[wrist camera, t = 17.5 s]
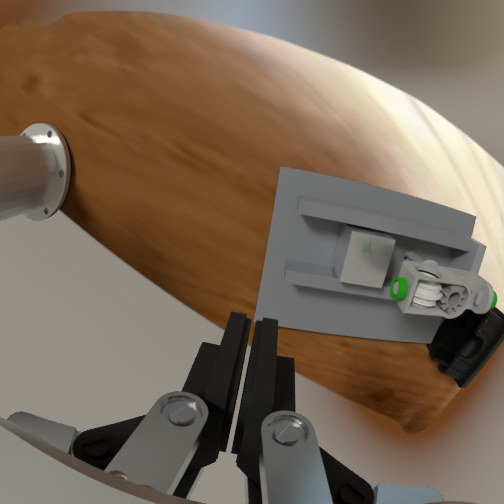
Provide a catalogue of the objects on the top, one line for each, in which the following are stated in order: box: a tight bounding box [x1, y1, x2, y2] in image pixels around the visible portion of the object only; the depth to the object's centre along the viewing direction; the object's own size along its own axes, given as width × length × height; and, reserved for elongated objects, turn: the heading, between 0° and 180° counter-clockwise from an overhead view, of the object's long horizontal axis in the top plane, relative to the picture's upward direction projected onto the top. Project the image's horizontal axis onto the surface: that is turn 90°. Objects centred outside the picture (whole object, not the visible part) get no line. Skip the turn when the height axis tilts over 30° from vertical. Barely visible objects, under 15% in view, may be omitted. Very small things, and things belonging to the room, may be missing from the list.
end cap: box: [427, 307, 504, 388], centre depth 26 cm, size 10×7×7 cm
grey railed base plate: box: [254, 166, 486, 344], centre depth 26 cm, size 22×16×5 cm
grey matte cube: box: [332, 222, 396, 288], centre depth 25 cm, size 4×4×4 cm
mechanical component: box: [390, 249, 497, 319], centre depth 22 cm, size 3×10×10 cm, turn 83°
